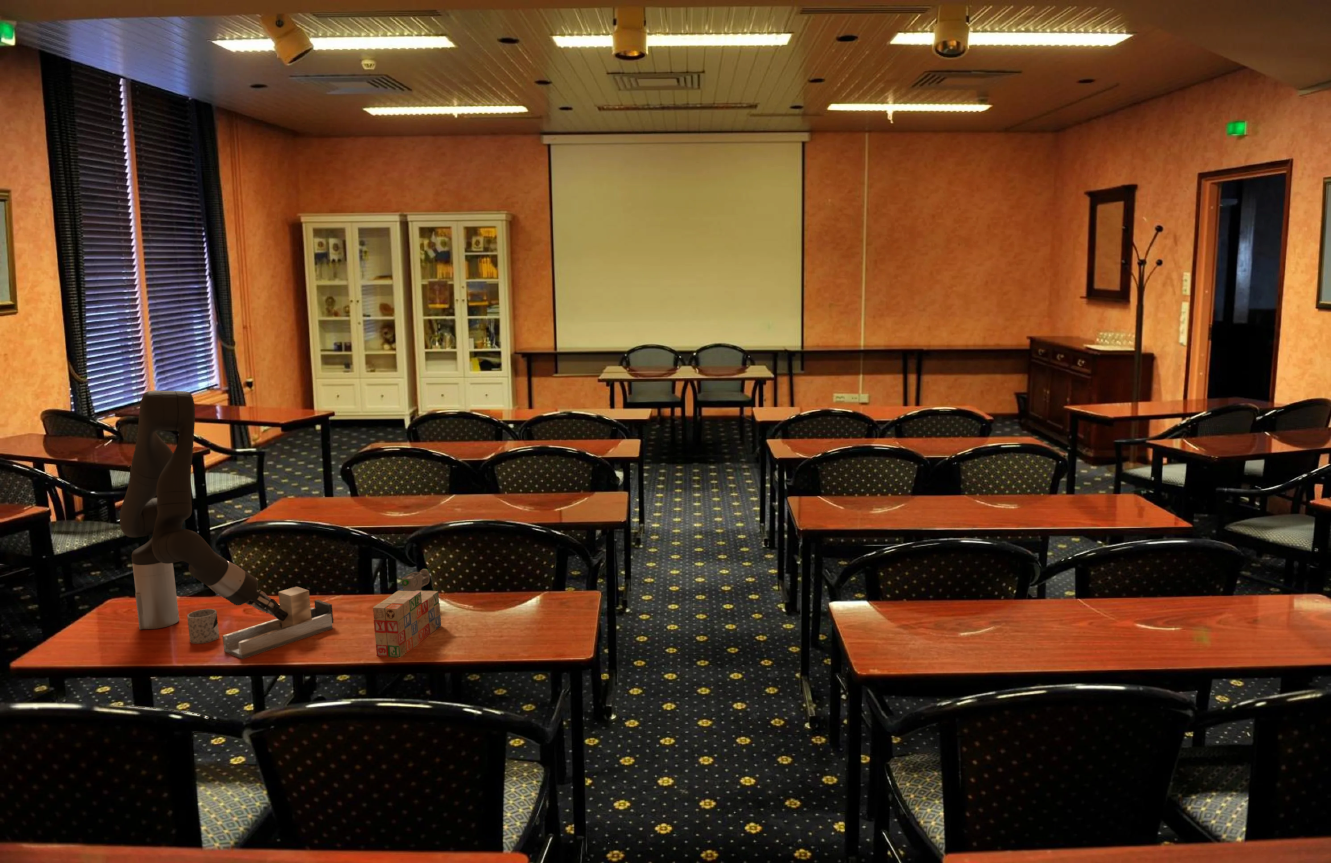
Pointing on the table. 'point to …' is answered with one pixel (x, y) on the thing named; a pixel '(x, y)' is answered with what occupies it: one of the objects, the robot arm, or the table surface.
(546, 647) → the table surface
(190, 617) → the mug
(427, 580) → the mechanical component
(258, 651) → the chute
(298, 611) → the birch block
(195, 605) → the table surface
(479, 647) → the table surface
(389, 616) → the stack of blocks
